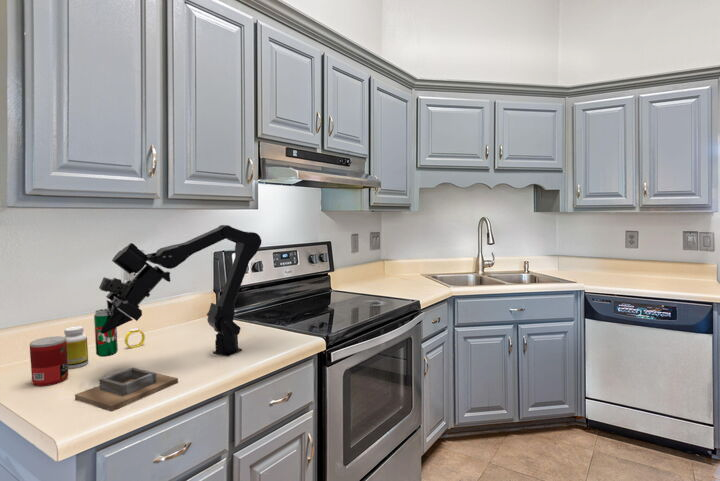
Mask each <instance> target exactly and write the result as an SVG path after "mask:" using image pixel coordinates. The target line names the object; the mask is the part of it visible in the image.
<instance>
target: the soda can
mask: <svg viewBox="0 0 720 481" xmlns="http://www.w3.org/2000/svg"><path fill="white" fill-rule="evenodd" d="M111 314H112V309H107V308H101V309H97V310H95V313H94V314H93V315H94V316H93V323H94V339H95V355H97V356H98V357H100V358H103V357H104V358H105V357H111V356H114V355H115V354H117V353H118V351H119V349H118V348H119V347H118V346H119V345H118V330H117V328H118V327H116V328H114V329H112V330H110V331H108V332H106V333H104V334H103V333H101V332H100V330H101V329H102V327H103V326H104V324H105V323H106V321H107V320H108V319H109V317H110V316H111Z"/></svg>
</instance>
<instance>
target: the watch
mask: <svg viewBox="0 0 720 481" xmlns="http://www.w3.org/2000/svg"><path fill="white" fill-rule="evenodd" d="M133 333H140V334H141V340H140V342H139V343H138V344H135V345H129V344H130V343H128V342H129V341H128V340H129V337H130V335H131V334H133ZM145 336H146V335H145V334H144V331H142V330H140V329H139V328H137V327H136V328H131V329H129V331H128V332H127V333H126V335H125V337H124V344H125V345H126V347H128V348H130V349H134V347H135V348H138V347H141V346H142V345H143V344H144V342H145V340H146V337H145Z"/></svg>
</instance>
